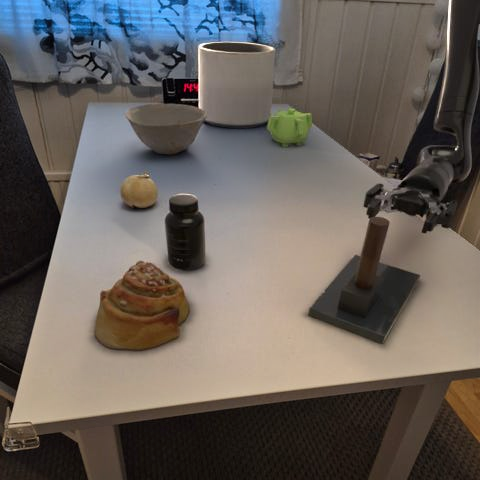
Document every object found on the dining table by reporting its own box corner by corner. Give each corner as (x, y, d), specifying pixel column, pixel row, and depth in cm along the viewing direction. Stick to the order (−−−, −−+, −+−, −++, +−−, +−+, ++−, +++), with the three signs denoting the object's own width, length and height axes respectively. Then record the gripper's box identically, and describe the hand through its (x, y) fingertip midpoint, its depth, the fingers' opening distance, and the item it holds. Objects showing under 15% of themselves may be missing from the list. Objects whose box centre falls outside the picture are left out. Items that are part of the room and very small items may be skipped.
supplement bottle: (178, 249, 84) (174, 188, 77) (211, 256, 83) (211, 194, 75) (161, 267, 79) (155, 203, 72) (196, 275, 77) (194, 210, 70)
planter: (231, 134, 143) (233, 55, 129) (184, 117, 157) (181, 44, 144) (285, 122, 157) (292, 49, 143) (237, 107, 171) (239, 40, 158)
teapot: (311, 140, 141) (315, 107, 135) (301, 150, 133) (305, 115, 127) (276, 135, 145) (278, 102, 138) (264, 144, 136) (266, 110, 130)
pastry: (193, 292, 73) (192, 249, 68) (180, 353, 62) (177, 307, 57) (113, 287, 73) (106, 244, 69) (85, 348, 62) (74, 302, 57)
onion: (139, 215, 95) (135, 183, 90) (114, 205, 98) (110, 173, 94) (166, 204, 100) (163, 172, 96) (141, 194, 104) (138, 164, 99)
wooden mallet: (353, 287, 74) (372, 208, 65) (379, 296, 72) (402, 216, 63) (337, 308, 69) (355, 225, 60) (364, 318, 67) (387, 234, 58)
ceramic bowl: (116, 159, 121) (111, 120, 115) (145, 135, 139) (142, 100, 133) (195, 167, 119) (194, 127, 113) (214, 141, 137) (214, 106, 131)
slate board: (353, 261, 83) (355, 254, 82) (418, 282, 78) (420, 274, 77) (308, 315, 70) (309, 307, 69) (382, 344, 65) (384, 336, 64)
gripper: (389, 159, 81) (358, 186, 70) (472, 176, 75) (452, 209, 64) (380, 198, 86) (349, 230, 75) (457, 217, 80) (436, 254, 69)
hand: (397, 220), depth 69 cm, fingers open, 8 cm apart
